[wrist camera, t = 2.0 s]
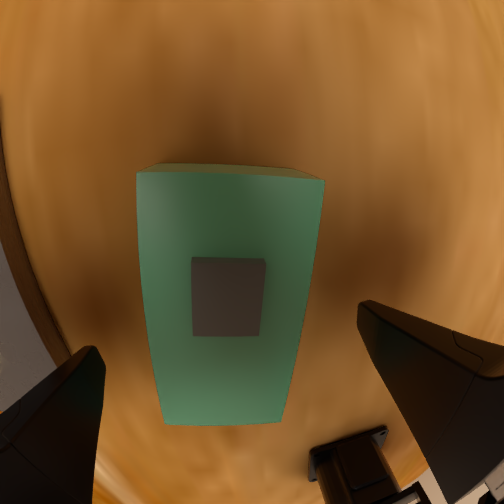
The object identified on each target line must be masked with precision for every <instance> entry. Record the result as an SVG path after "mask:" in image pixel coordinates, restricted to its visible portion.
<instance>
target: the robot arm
mask: <svg viewBox="0 0 504 504" xmlns="http://www.w3.org/2000/svg"><path fill="white" fill-rule="evenodd" d="M357 328H358V330H359V333H360V335H361V337H362V339H363V342H364V344H365V346H366V348H367V351H368V353H369V355H370V358H371V360H372V362H373V364H374V366H375V368H376V369H377V371H378V373H379V374H380V376H381V378H382V380H383V381H384V383H385V385H386V387H387V388H388V390H389V392H390V394H391V395H392V397H393V399H394V401H395V403H396V404H397V406H398V408H399V410H400V412H401V413H402V415H403V417H404V419H405V421H406V423H407V424H408V426H409V428H410V430H411V432H412V434H413V436H414V437H415V439H416V441H417V443H418V445H419V447H420V449H421V451H422V453H423V455H424V457H425V458H426V461H427V463H428V465H429V467H430V469H431V471H432V473H433V475H434V477H435V479H436V481H437V483H438V485H439V486H440V489H441V491H442V493H443V495H444V497H445V499H446V501H447V503H448V504H455V503H456V502H458V501H459V500H461V499H462V498H464V497H465V496H467V495H468V494H470V493H471V492H472V491H474V490H475V489H476V488H478V487H479V486H480V485H482V484H483V483H484V482H485V484H486V486H487V487H488V489H489V491H488V492H487V493H486V494H484V495H483V496H482V497H480V498H479V501H478V504H504V346H502V345H498V344H494V343H491V342H487V341H484V340H480V339H477V338H473V337H470V336H468V335H465V334H462V333H459V332H456V331H454V330H453V331H452V330H451V329H448V328H445V327H443V326H440V325H437V324H434V323H432V322H429V321H426V320H424V319H421V318H418V317H415V316H413V315H410V314H407V313H405V312H402V311H399V310H396V309H394V308H391V307H388V306H386V305H383V304H380V303H377V302H375V301H372V300H366V301H362V302H360V303H359V304H358V311H357ZM105 374H106V366H105V363H104V361H103V359H102V357H101V355H100V353H99V351H98V349H97V348H96V347H95V346H84V347H83V348H81V349H80V350H79V351H78V352H76V353H75V354H74V355H73V356H71V357H70V358H69V359H68V360H66V361H65V362H64V363H63V364H61V365H60V366H59V367H58V368H56V369H55V370H54V371H53V372H51V373H50V374H49V375H48V376H47V377H45V378H44V379H43V380H42V381H40V382H39V383H38V384H37V385H36V386H34V387H33V388H32V389H31V390H29V391H28V392H27V393H26V394H25V395H23V396H22V397H21V399H19V400H17V401H16V402H15V403H14V404H13V405H11V406H10V407H9V408H8V409H6V410H5V411H4V412H2V413H1V414H0V504H92V495H93V481H94V469H95V459H96V451H97V443H98V435H99V428H100V422H101V415H102V409H103V400H104V386H105ZM388 431H389V430H388V428H387V427H386V426H383V427H380V428H378V429H375V430H372V431H370V432H367V433H364V434H361V435H358V436H355V437H353V438H349V439H346V440H343V441H340V442H337V443H334V444H330V445H327V446H323V447H320V448H316V449H313V450H311V451H310V453H309V467H308V480H309V482H314V481H318V483H319V486H320V489H321V492H322V495H323V498H324V501H325V504H408V503H410V502H411V501H413V500H415V499H417V501H418V503H416V504H431V502H430V500H429V498H428V497H427V495H426V493H425V491H424V490H423V488H422V486H421V485H420V483H419V481H417V482H415V483H414V484H412V486H411V487H409V488H407V489H405V490H403V491H402V490H401V488H400V486H399V484H398V482H397V480H396V478H395V476H394V474H393V472H392V470H391V468H390V466H389V464H388V462H387V460H386V459H385V457H384V455H383V453H382V451H381V447H382V445H383V443H384V441H385V438H386V436H387V434H388Z"/></svg>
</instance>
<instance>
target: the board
mask: <svg viewBox="0 0 504 504" xmlns="http://www.w3.org/2000/svg"><path fill="white" fill-rule="evenodd" d="M324 186H325V180H322V179H320V178H317V177H314V176H312V175H309V174H306V173H304V172H301V171H298V170H295V169H288V168H276V167H263V166H247V165H228V164H198V163H157V164H155V165H153V166H150V167H148V168H145V169H143V170H141V171H138V172H136V200H137V231H138V249H139V263H140V275H141V286H142V295H143V304H144V313H145V320H146V328H147V335H148V341H149V348H150V354H151V360H152V366H153V371H154V376H155V382H156V387H157V392H158V396H159V401H160V406H161V410H162V414H163V419H164V423H165V424H169V425H196V426H223V425H249V424H264V423H276V422H281V420H282V416H283V412H284V408H285V404H286V400H287V395H288V391H289V387H290V383H291V378H292V374H293V369H294V365H295V360H296V355H297V351H298V346H299V341H300V336H301V331H302V326H303V321H304V316H305V311H306V305H307V300H308V294H309V288H310V283H311V277H312V271H313V265H314V258H315V252H316V245H317V239H318V232H319V225H320V218H321V210H322V202H323V194H324Z"/></svg>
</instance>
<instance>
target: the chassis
mask: <svg viewBox="0 0 504 504" xmlns="http://www.w3.org/2000/svg"><path fill="white" fill-rule="evenodd" d="M70 357H71V355H70V353H69V352H68V350H67V348H66V346H65V344H64V342H63V340H62V338H61V336H60V334H59V332H58V330H57V328H56V326H55V324H54V322H53V320H52V318H51V315H50V313H49V311H48V309H47V307H46V304H45V302H44V300H43V297H42V295H41V292H40V290H39V287H38V285H37V282H36V280H35V277H34V274H33V272H32V269H31V266H30V263H29V260H28V258H27V255H26V251H25V248H24V245H23V242H22V239H21V235H20V232H19V228H18V225H17V221H16V217H15V213H14V209H13V205H12V201H11V196H10V192H9V187H8V182H7V176H6V171H5V164H4V158H3V151H2V142H1V133H0V411H3V412H4V411H5V410H6V409H8V408H9V407H10V406H11V405H13V404H14V403H15V402H16V401H17V400H19V399H21V397H22V396H23V395H25V394H26V393H27V392H28V391H29V390H31V389H32V388H33V387H34V386H36V385H37V384H38V383H39V382H40V381H42V380H43V379H44V378H45V377H47V376H48V375H49V374H50V373H51V372H53V371H54V370H55V369H56V368H58V367H59V366H60V365H61V364H63V363H64V362H65V361H66V360H68V359H69V358H70Z"/></svg>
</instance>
